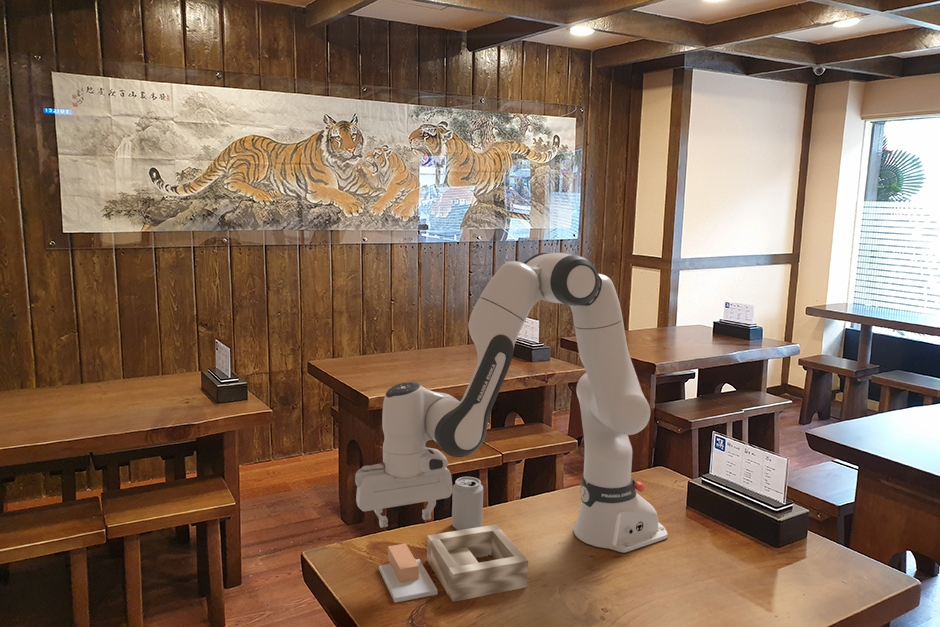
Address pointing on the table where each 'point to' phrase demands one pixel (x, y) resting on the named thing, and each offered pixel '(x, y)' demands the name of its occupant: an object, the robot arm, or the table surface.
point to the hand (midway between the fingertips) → (405, 522)
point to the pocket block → (476, 562)
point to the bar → (403, 562)
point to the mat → (408, 584)
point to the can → (467, 503)
